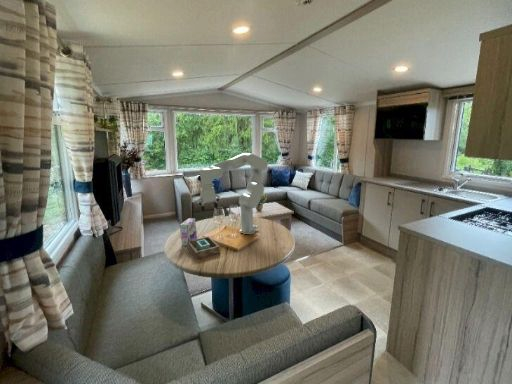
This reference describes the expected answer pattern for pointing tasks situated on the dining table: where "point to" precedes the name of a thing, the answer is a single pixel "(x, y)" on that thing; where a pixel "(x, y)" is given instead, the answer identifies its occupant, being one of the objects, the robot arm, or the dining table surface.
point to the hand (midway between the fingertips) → (209, 209)
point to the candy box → (188, 231)
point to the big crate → (208, 252)
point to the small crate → (202, 245)
